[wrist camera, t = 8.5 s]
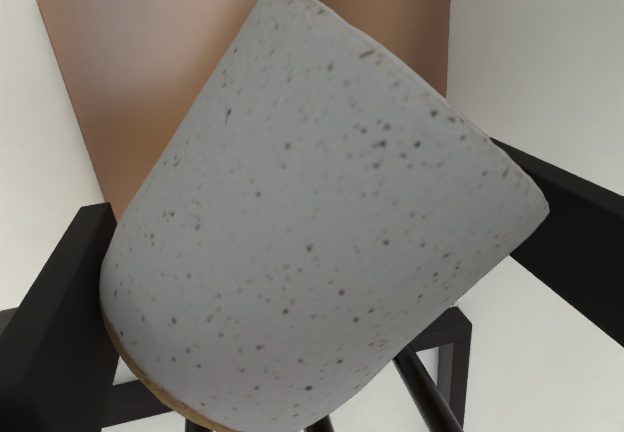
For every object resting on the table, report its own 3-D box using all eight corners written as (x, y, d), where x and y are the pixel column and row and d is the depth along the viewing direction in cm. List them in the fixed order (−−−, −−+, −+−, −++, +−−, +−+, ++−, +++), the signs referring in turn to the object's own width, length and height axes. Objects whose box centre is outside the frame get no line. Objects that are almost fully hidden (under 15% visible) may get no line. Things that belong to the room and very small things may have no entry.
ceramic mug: (106, 218, 13) (10, 438, 7) (256, -22, 11) (333, -53, 5) (358, 338, 18) (452, 540, 11) (496, 180, 16) (709, 310, 9)
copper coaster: (445, -56, 16) (453, -59, 15) (433, 265, 22) (439, 271, 22) (35, -18, 14) (29, -19, 13) (151, 325, 20) (149, 334, 20)
